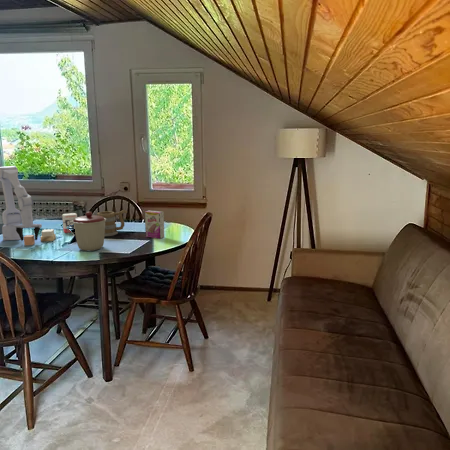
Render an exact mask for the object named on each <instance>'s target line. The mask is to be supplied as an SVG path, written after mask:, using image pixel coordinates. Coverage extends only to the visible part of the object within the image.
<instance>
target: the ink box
mask: <svg viewBox="0 0 450 450" xmlns="http://www.w3.org/2000/svg"><path fill="white" fill-rule="evenodd" d="M61 217H62V219H61V220H62V227H63V228H62V229H63V233H65V234H68V233H72V232H71V231H70V230H69V229H67V228H66V227H67V226H69V225H73V223H72V220H74V219H75V218H77V217H78V214H77V213H76V212H69V213H63V214H62V215H61Z"/></svg>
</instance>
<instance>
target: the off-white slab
mask: <svg viewBox="0 0 450 450" xmlns="http://www.w3.org/2000/svg"><path fill="white" fill-rule="evenodd" d="M54 234H55V229H54V228H53V229H52V228H51V229H50V228H49V229H42V231H41V236H42V237H47V236H53V235H54Z"/></svg>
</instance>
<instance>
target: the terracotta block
mask: <svg viewBox="0 0 450 450" xmlns="http://www.w3.org/2000/svg"><path fill="white" fill-rule="evenodd" d="M23 239H24V240H23V245H24V246H33V245H35V244H36V240H35V234H26V235H23Z"/></svg>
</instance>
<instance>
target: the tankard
mask: <svg viewBox="0 0 450 450" xmlns="http://www.w3.org/2000/svg"><path fill="white" fill-rule="evenodd" d="M127 213H128V211H127V210H125V209H122V210H121V211H118V212H114V211H112V210H111V211H109V210H108V211H107V210H106V211H99V212H96V214H97V216H102V217H104V218H106V221H105V234H104V237H111V236H116V235H118V234H119V233H118V232H119V231H121V230H123V229H124V227H125V221H124V217H123V214H127ZM117 216H118V220H119V221H120V226H117V224H116V221H117V218H116V217H117Z"/></svg>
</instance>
